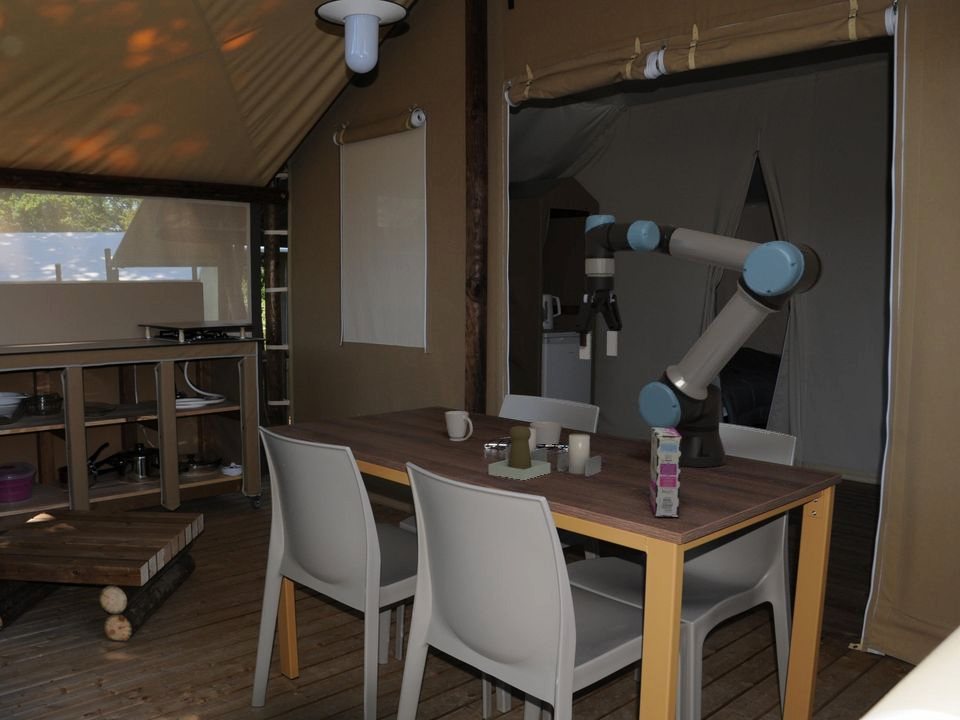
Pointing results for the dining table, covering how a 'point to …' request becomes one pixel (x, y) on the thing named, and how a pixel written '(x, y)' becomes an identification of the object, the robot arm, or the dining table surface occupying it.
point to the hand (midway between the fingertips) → (598, 357)
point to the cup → (458, 425)
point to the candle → (547, 432)
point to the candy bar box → (665, 472)
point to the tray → (519, 470)
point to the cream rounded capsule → (532, 439)
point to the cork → (520, 448)
